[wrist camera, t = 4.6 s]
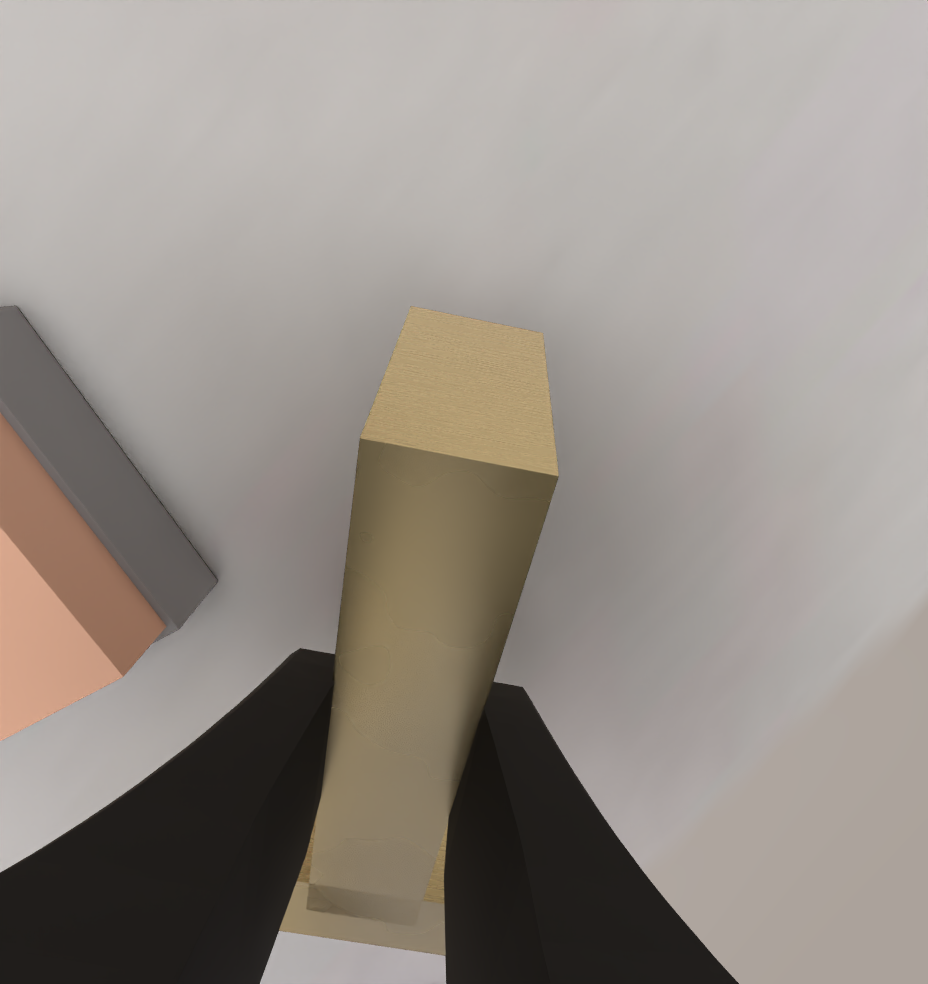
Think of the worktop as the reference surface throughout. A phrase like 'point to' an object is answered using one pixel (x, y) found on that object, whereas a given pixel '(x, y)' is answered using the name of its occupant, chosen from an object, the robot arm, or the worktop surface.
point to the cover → (57, 598)
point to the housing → (97, 475)
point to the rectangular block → (424, 618)
